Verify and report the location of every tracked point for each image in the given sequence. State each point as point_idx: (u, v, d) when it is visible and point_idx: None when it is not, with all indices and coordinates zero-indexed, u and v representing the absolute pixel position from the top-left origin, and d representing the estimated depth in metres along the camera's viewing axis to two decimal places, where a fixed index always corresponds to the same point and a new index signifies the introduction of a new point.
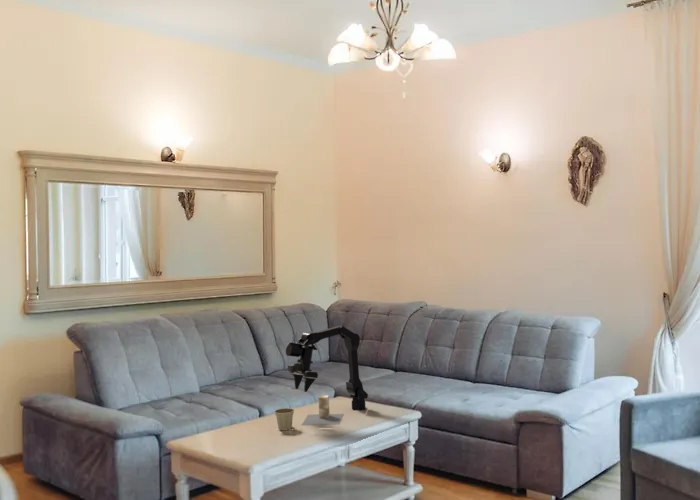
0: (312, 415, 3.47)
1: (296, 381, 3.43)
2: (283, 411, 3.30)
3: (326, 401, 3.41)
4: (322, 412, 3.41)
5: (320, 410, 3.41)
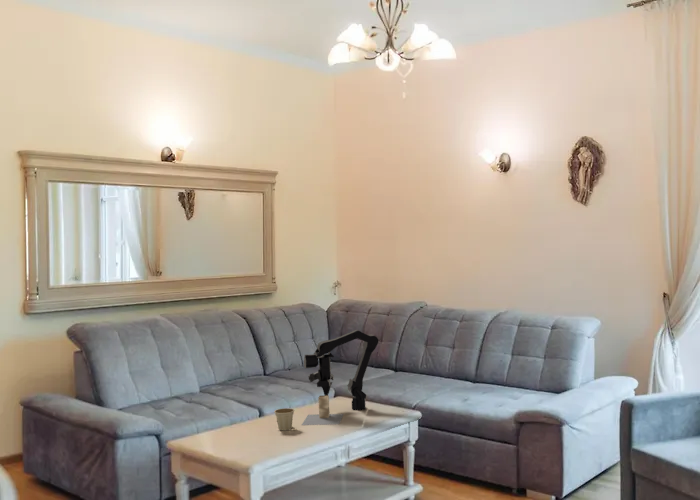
0: (312, 415, 3.47)
1: None
2: (283, 411, 3.30)
3: (326, 401, 3.41)
4: (322, 412, 3.41)
5: (320, 410, 3.41)
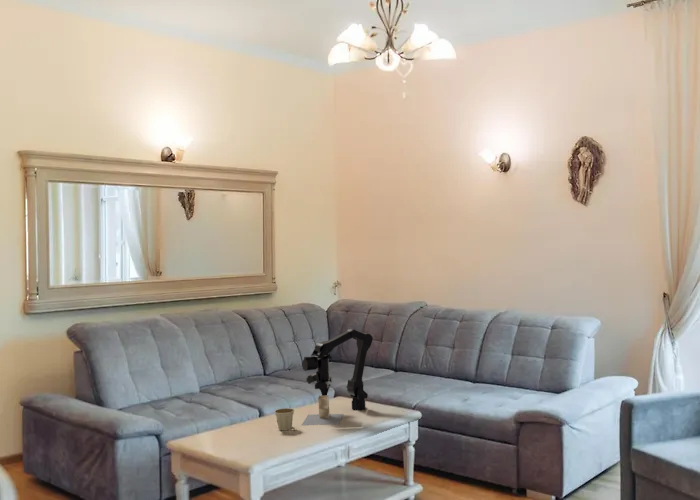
0: (312, 415, 3.47)
1: None
2: (283, 411, 3.30)
3: (326, 401, 3.40)
4: (322, 412, 3.41)
5: (320, 410, 3.41)
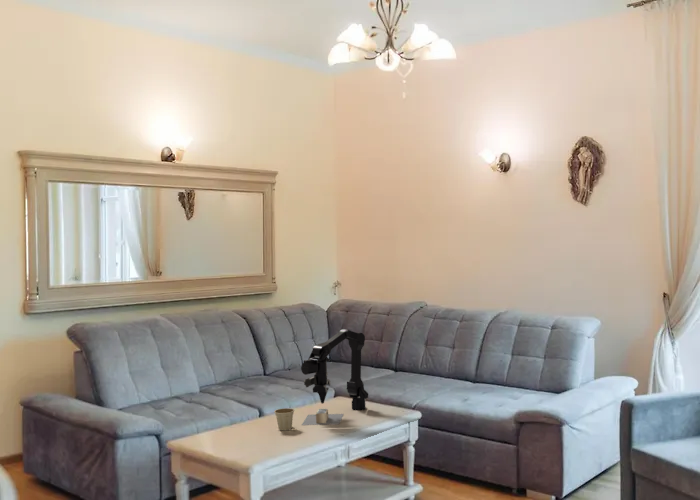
0: (312, 415, 3.47)
1: None
2: (283, 411, 3.30)
3: None
4: None
5: None
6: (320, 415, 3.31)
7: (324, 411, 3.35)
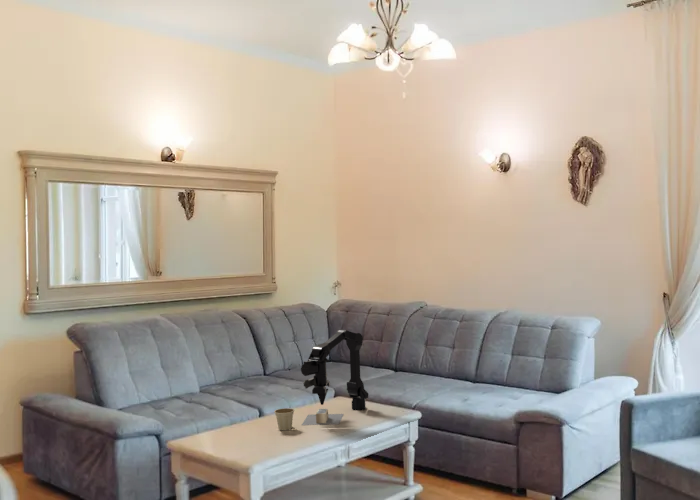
0: (312, 415, 3.47)
1: None
2: (283, 411, 3.30)
3: None
4: None
5: None
6: (320, 415, 3.31)
7: (324, 411, 3.35)
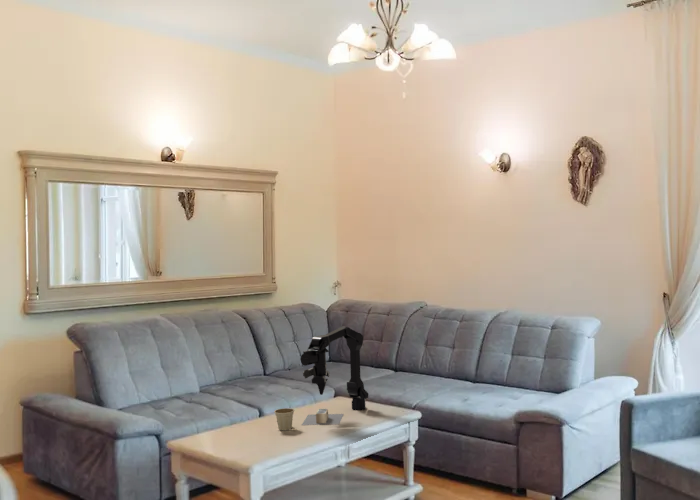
0: (312, 415, 3.47)
1: None
2: (283, 411, 3.30)
3: None
4: None
5: None
6: (320, 415, 3.31)
7: (324, 411, 3.35)
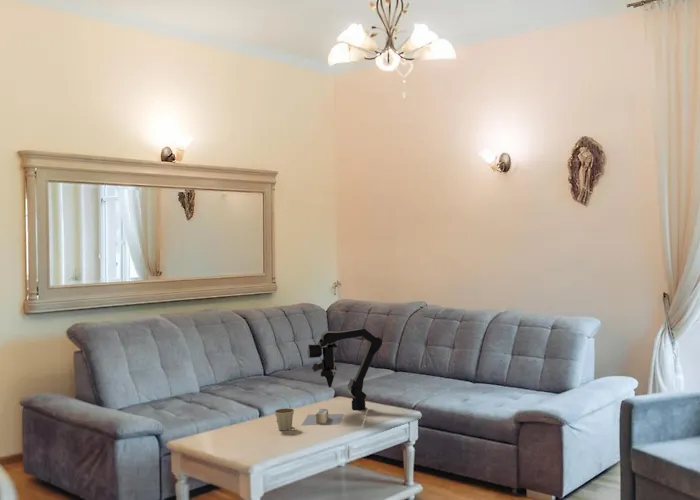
0: (312, 415, 3.47)
1: None
2: (283, 411, 3.30)
3: None
4: None
5: None
6: (320, 415, 3.31)
7: (324, 411, 3.35)
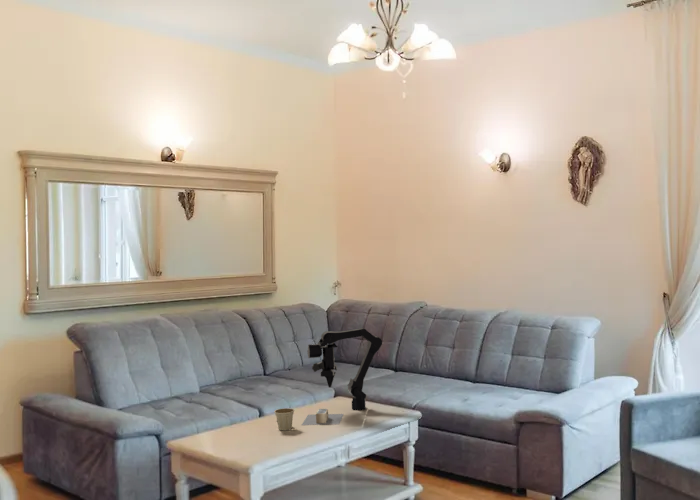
0: (312, 415, 3.47)
1: None
2: (283, 411, 3.30)
3: None
4: None
5: None
6: (320, 415, 3.31)
7: (324, 411, 3.35)
